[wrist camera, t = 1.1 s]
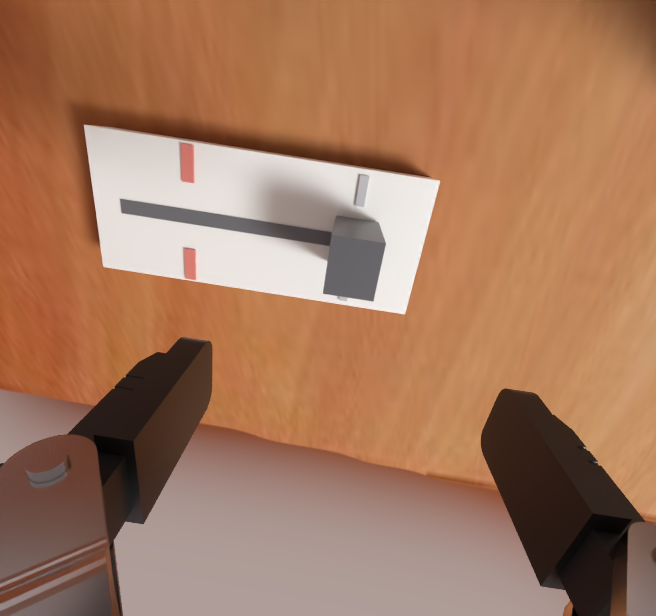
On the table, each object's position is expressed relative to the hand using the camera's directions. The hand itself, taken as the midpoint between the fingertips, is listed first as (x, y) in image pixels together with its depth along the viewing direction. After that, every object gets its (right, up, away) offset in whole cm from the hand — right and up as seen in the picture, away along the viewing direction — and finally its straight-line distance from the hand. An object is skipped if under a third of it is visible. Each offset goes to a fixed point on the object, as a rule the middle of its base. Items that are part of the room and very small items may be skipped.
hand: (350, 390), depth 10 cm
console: (-6, +9, +18) cm, 21 cm away
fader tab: (+1, +7, +15) cm, 17 cm away
